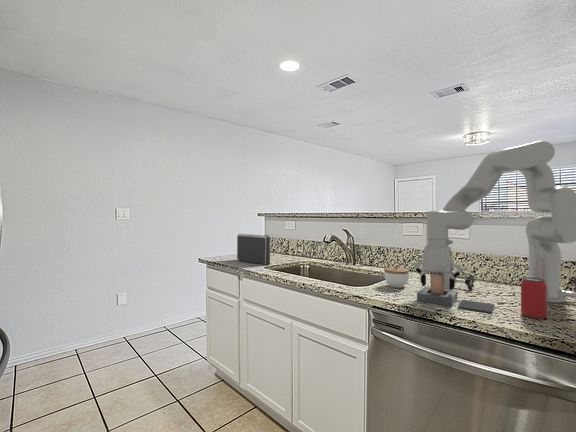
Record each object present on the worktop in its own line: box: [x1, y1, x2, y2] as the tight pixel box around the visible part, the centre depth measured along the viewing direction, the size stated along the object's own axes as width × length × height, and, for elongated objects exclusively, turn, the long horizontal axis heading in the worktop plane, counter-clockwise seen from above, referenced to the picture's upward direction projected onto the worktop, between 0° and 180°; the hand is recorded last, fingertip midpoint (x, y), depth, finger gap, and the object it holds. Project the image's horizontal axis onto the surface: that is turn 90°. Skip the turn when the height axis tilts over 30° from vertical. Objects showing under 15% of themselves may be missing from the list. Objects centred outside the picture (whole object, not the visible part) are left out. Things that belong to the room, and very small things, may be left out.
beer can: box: [520, 276, 548, 320], centre depth 100 cm, size 7×7×12 cm
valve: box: [455, 274, 475, 291], centre depth 138 cm, size 7×7×12 cm
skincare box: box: [442, 273, 450, 290], centre depth 132 cm, size 6×4×12 cm
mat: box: [457, 299, 495, 314], centre depth 110 cm, size 10×10×1 cm
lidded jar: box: [383, 265, 410, 289], centre depth 141 cm, size 11×11×9 cm
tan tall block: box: [429, 272, 444, 295], centre depth 119 cm, size 5×5×11 cm
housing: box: [416, 286, 458, 307], centre depth 119 cm, size 12×12×3 cm
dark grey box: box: [236, 232, 271, 265], centre depth 217 cm, size 35×22×20 cm, turn 47°
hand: (437, 287), depth 119 cm, fingers open, 9 cm apart
